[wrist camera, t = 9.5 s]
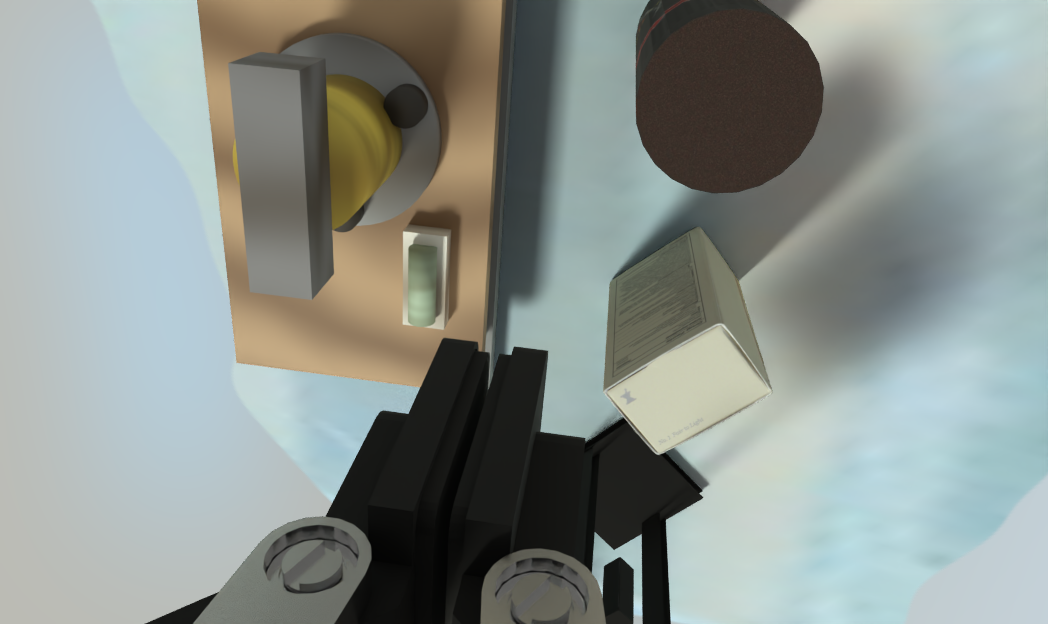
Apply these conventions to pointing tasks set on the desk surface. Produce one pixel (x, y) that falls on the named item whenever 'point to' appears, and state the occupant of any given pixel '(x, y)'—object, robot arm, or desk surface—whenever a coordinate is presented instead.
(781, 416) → the desk surface
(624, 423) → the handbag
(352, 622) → the robot arm
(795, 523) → the desk surface
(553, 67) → the desk surface
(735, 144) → the deodorant
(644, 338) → the skincare box
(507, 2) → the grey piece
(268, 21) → the level plate
